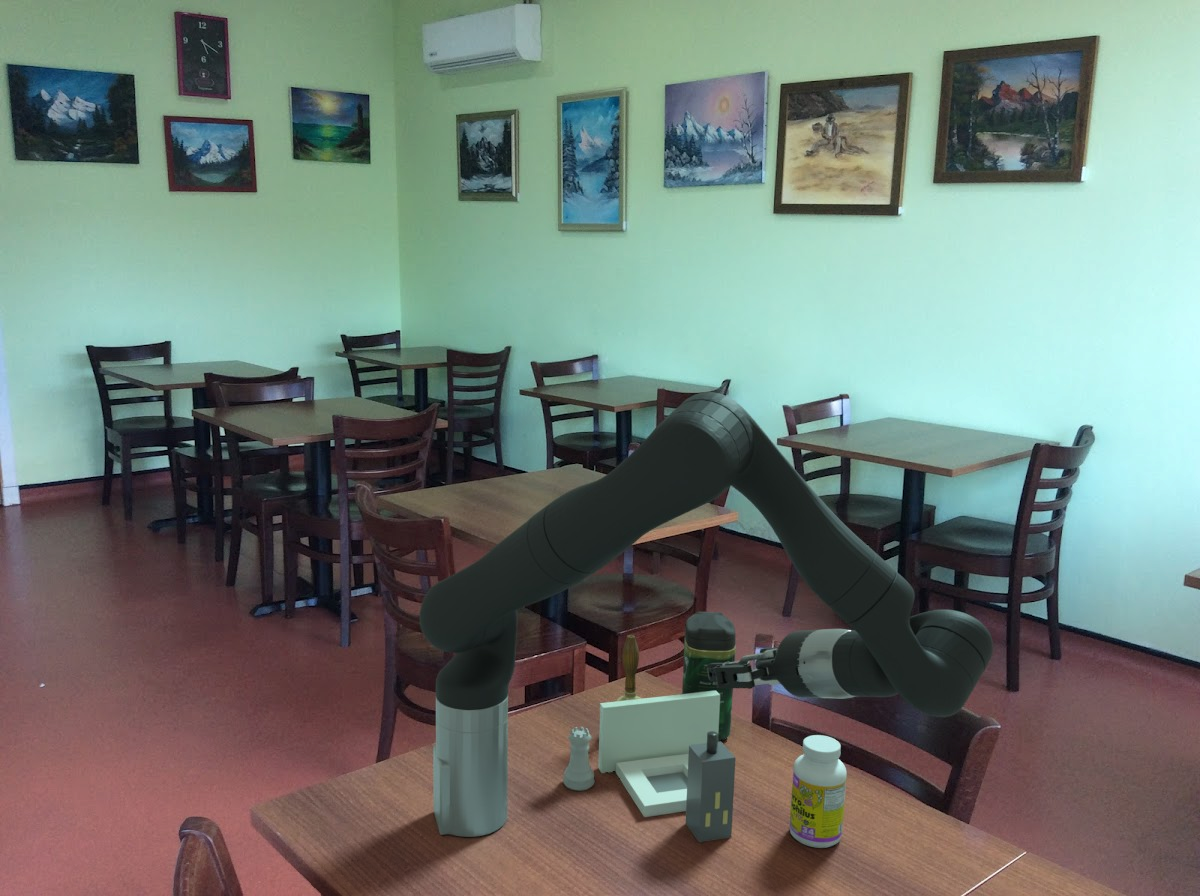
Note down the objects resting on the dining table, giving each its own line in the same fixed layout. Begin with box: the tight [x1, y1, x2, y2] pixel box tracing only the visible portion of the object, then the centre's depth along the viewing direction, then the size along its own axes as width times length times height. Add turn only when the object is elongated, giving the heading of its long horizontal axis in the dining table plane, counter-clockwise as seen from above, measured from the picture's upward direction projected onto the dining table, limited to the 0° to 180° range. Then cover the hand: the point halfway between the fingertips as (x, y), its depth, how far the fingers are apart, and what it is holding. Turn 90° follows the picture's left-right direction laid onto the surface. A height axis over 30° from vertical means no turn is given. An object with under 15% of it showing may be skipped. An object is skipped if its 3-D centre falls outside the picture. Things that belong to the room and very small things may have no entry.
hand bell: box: [616, 634, 643, 701], centre depth 154 cm, size 8×8×16 cm
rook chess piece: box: [562, 726, 596, 792], centre depth 139 cm, size 4×4×8 cm
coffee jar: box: [681, 611, 737, 741], centre depth 155 cm, size 10×8×19 cm
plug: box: [685, 731, 736, 843], centre depth 128 cm, size 4×5×13 cm
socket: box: [597, 691, 720, 818], centre depth 139 cm, size 18×14×10 cm
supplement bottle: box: [789, 734, 848, 849], centre depth 127 cm, size 7×7×13 cm
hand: (736, 664), depth 124 cm, fingers open, 8 cm apart
